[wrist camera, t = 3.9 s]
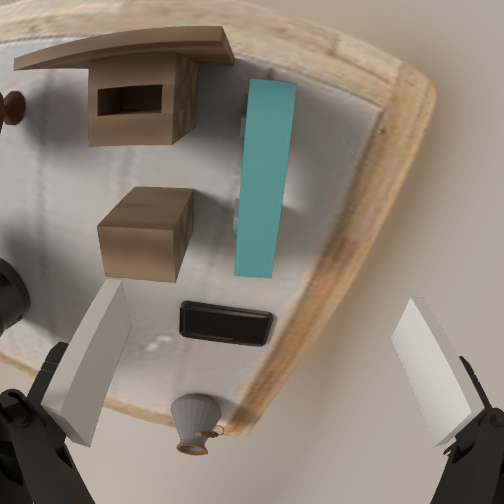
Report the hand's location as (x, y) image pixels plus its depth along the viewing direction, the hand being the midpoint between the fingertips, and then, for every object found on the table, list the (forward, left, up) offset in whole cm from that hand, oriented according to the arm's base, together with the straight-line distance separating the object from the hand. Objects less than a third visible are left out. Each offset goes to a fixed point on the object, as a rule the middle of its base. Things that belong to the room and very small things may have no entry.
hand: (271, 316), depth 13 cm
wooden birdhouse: (+8, +12, -27) cm, 31 cm away
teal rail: (0, 0, -26) cm, 26 cm away
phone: (-27, +3, -28) cm, 39 cm away
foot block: (-7, +12, -27) cm, 30 cm away
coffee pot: (-49, +7, -27) cm, 56 cm away
